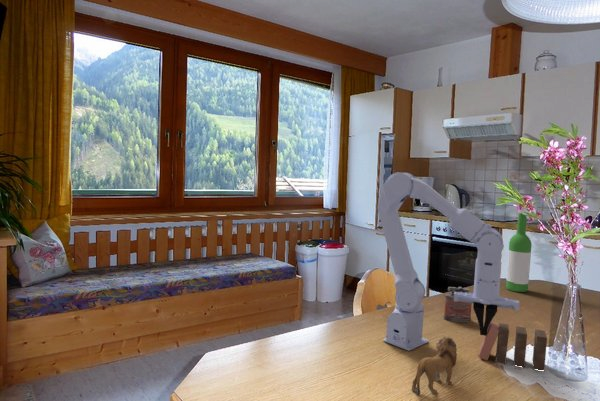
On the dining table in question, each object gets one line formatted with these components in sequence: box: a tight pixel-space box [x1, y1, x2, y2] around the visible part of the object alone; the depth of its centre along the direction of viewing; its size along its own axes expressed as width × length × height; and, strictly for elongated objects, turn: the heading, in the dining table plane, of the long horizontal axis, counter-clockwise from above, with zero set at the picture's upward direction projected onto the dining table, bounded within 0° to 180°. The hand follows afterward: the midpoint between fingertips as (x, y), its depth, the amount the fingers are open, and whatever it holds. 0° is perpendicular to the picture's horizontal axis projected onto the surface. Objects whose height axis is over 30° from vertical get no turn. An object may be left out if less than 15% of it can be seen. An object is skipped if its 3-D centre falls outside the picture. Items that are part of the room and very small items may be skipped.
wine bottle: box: [505, 212, 532, 293], centre depth 169 cm, size 8×8×30 cm
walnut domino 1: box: [495, 322, 510, 365], centre depth 105 cm, size 2×5×8 cm, turn 156°
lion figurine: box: [411, 336, 458, 397], centre depth 91 cm, size 15×5×9 cm, turn 139°
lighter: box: [442, 286, 473, 323], centre depth 133 cm, size 8×3×10 cm, turn 84°
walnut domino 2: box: [513, 325, 528, 368], centre depth 104 cm, size 2×5×8 cm, turn 156°
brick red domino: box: [478, 321, 499, 361], centre depth 106 cm, size 2×5×8 cm, turn 157°
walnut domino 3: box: [532, 328, 548, 371], centre depth 102 cm, size 2×5×8 cm, turn 156°
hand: (483, 334), depth 107 cm, fingers closed
